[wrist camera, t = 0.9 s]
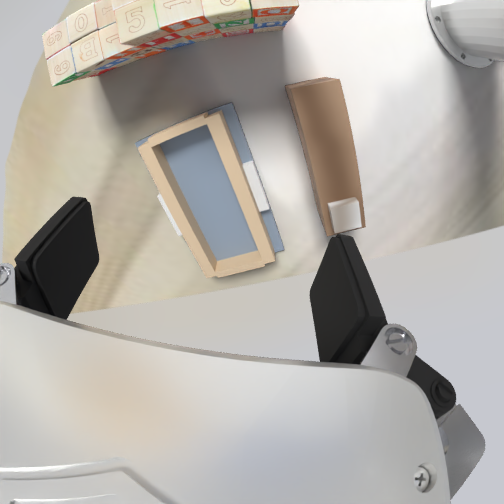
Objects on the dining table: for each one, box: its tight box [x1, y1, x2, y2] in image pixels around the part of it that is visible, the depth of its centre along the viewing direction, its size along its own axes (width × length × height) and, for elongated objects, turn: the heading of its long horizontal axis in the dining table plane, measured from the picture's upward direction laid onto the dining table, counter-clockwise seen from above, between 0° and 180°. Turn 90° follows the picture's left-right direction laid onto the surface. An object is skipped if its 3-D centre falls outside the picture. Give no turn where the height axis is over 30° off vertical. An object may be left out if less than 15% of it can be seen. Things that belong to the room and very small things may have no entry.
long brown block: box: [285, 77, 366, 236], centre depth 27 cm, size 4×16×7 cm, turn 18°
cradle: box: [135, 103, 284, 278], centre depth 33 cm, size 12×20×3 cm, turn 19°
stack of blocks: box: [42, 0, 299, 86], centre depth 16 cm, size 21×6×12 cm, turn 99°
